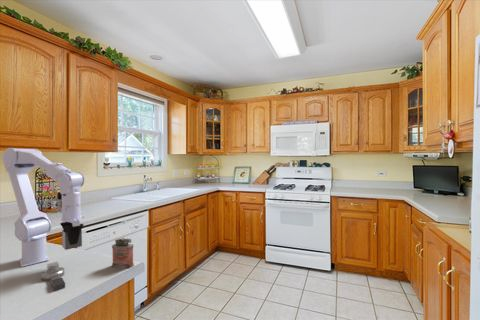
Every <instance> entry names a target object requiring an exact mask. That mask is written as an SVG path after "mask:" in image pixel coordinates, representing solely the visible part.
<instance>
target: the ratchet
mask: <svg viewBox="0 0 480 320" xmlns="http://www.w3.org/2000/svg"><path fill="white" fill-rule="evenodd" d="M63 276H65V268H64V267H60V263H59V262H58V261H54V262H51V263H47V264H46V270H45V271H43V272H42V273H41V281H42V282H48V281H49V282H50V283H51V287H52V289H53V291H54V292H56V291H59V290H60V291H61V290H62V289H65V288H66V282H65V280H64V278H63Z"/></svg>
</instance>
